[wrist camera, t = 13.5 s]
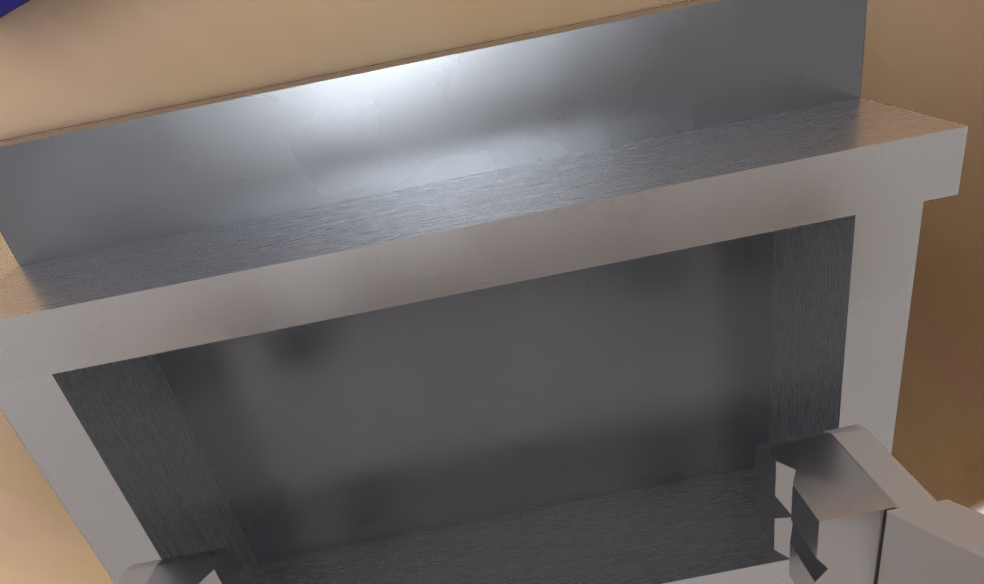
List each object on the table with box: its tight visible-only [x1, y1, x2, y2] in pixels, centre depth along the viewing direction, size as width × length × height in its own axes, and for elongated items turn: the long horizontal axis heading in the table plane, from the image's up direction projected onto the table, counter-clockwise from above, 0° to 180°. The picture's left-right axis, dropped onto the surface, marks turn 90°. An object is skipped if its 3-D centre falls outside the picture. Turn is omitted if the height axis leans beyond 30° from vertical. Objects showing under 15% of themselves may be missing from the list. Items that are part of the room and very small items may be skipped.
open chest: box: [0, 0, 968, 584], centre depth 12 cm, size 15×13×4 cm
